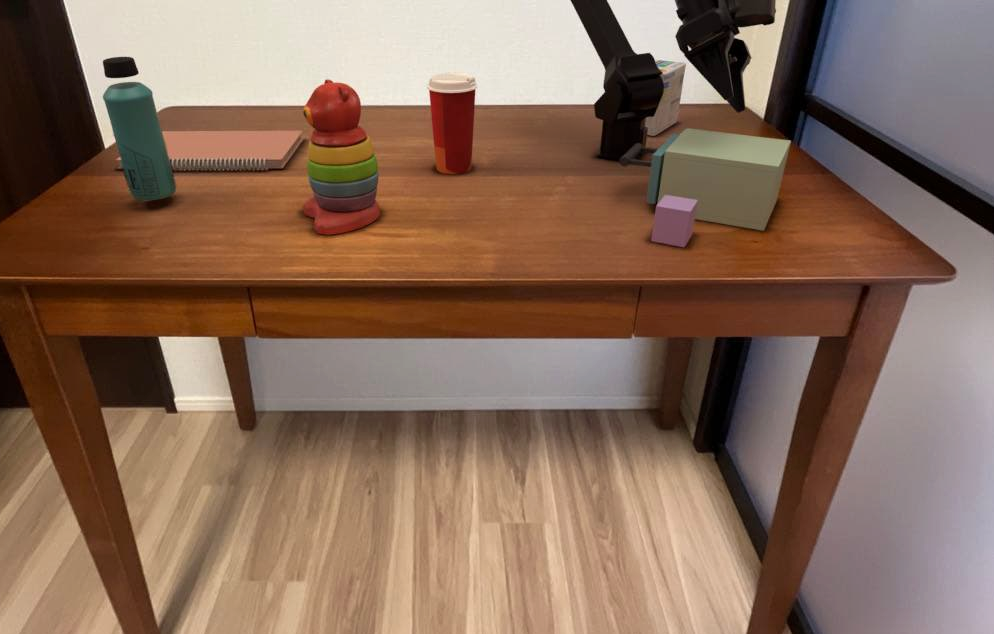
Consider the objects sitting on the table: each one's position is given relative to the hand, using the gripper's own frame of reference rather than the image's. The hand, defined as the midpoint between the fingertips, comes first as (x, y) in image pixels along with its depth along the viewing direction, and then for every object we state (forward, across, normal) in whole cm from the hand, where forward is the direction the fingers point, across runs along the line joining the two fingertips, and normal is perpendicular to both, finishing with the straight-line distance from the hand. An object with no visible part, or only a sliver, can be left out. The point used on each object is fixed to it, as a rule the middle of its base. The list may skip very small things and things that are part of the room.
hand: (735, 105), depth 95 cm
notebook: (-26, -17, +77) cm, 83 cm away
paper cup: (-9, -3, +42) cm, 43 cm away
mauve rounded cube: (+15, -10, +11) cm, 21 cm away
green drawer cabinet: (+12, +2, +7) cm, 13 cm away
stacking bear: (-3, -25, +49) cm, 55 cm away
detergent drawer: (+8, +1, +10) cm, 13 cm away
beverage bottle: (-14, -35, +73) cm, 82 cm away
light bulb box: (-11, +32, +18) cm, 38 cm away
